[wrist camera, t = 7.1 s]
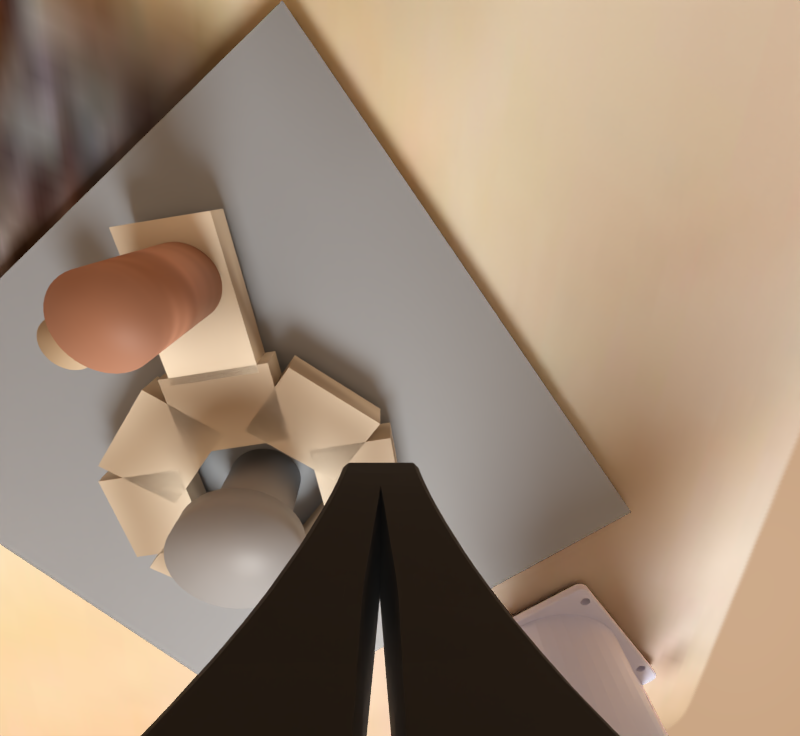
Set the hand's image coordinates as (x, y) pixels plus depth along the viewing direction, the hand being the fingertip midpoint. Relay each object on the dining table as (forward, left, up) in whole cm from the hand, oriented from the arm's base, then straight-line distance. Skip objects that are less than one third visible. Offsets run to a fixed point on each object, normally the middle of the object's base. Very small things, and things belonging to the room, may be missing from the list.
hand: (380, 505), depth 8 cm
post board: (-2, +8, -10) cm, 13 cm away
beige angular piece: (0, +7, -9) cm, 11 cm away
